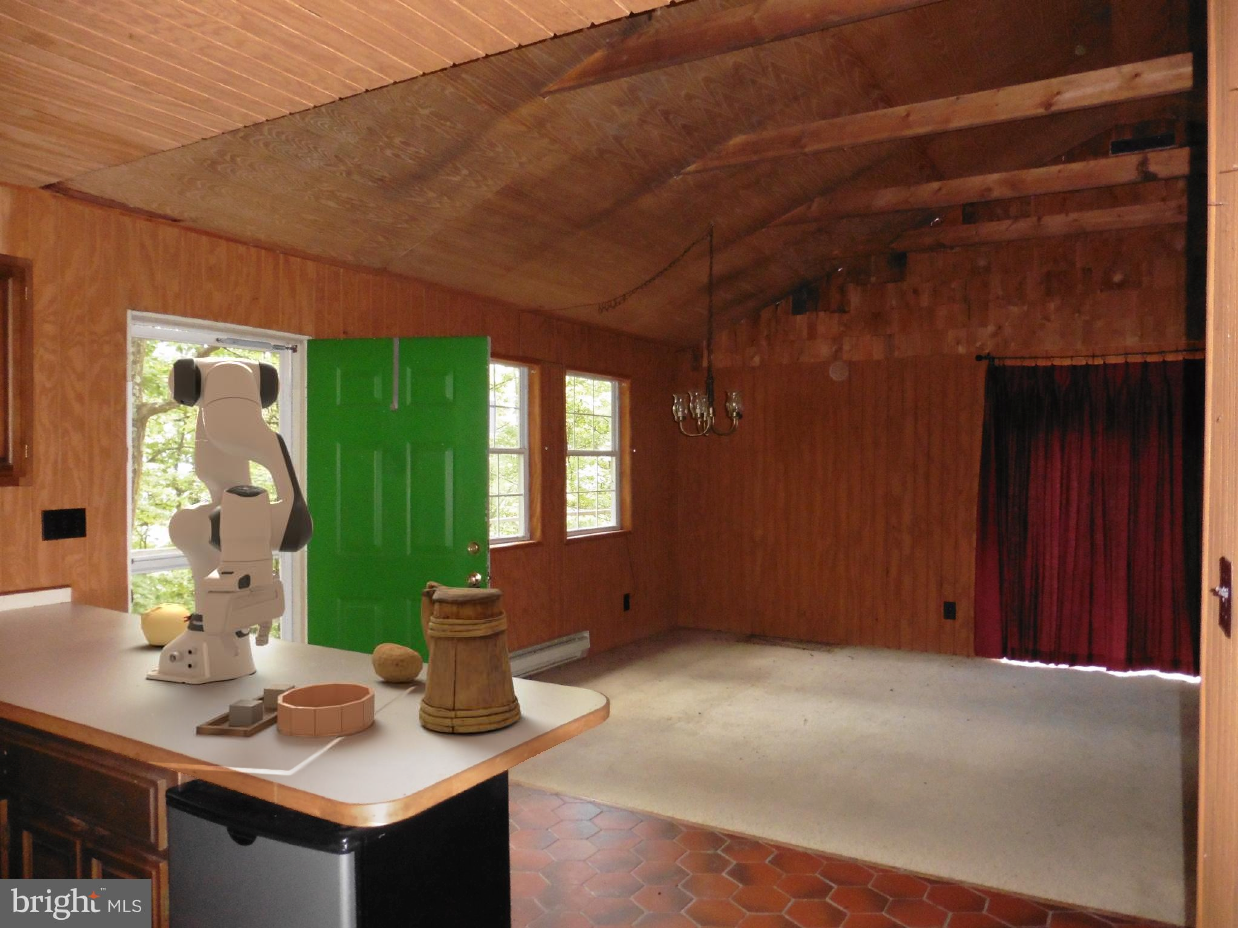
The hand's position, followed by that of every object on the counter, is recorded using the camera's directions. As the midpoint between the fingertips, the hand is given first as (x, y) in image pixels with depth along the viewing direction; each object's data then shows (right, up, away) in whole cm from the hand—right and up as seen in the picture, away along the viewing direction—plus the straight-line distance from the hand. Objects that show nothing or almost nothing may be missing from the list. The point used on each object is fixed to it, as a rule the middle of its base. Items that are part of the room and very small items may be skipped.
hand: (247, 650), depth 150 cm
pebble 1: (0, -13, 0) cm, 13 cm away
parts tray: (+1, -14, +6) cm, 15 cm away
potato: (+19, -14, +31) cm, 39 cm away
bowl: (+14, -14, +1) cm, 20 cm away
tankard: (+38, -14, +6) cm, 41 cm away
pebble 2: (+1, -13, +11) cm, 17 cm away
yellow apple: (-51, -14, +66) cm, 84 cm away
